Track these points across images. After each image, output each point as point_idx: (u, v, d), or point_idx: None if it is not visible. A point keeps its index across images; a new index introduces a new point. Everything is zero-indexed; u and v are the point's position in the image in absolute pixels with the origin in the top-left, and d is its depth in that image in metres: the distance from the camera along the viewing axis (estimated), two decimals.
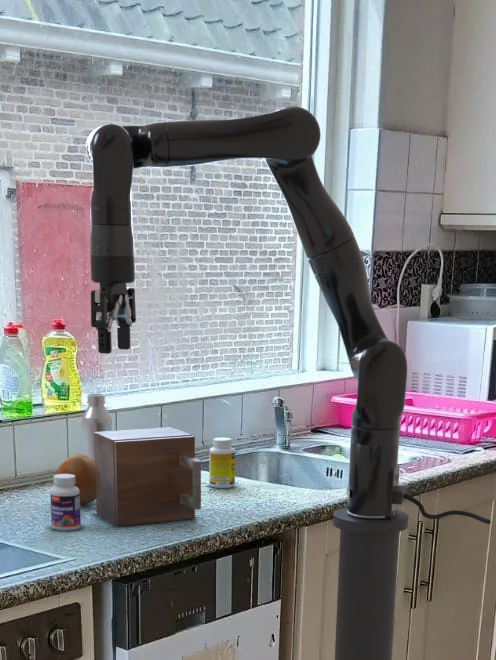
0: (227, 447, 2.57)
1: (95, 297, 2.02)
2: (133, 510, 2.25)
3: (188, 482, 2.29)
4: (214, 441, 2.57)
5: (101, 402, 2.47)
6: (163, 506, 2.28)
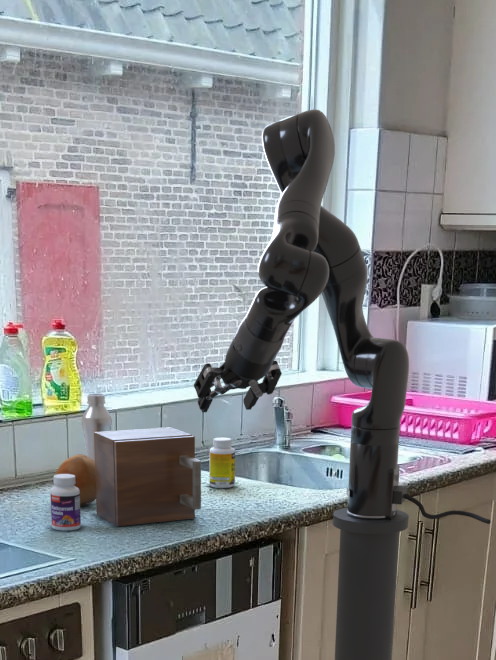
0: (227, 447, 2.57)
1: None
2: (133, 510, 2.25)
3: (188, 482, 2.29)
4: (214, 441, 2.57)
5: (101, 402, 2.47)
6: (163, 506, 2.28)
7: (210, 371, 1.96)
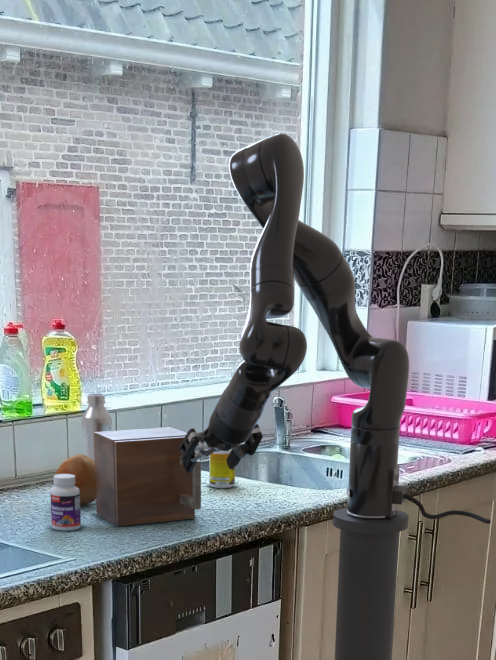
0: None
1: None
2: (133, 510, 2.25)
3: (188, 482, 2.29)
4: None
5: (101, 402, 2.47)
6: (163, 506, 2.28)
7: (194, 436, 2.06)
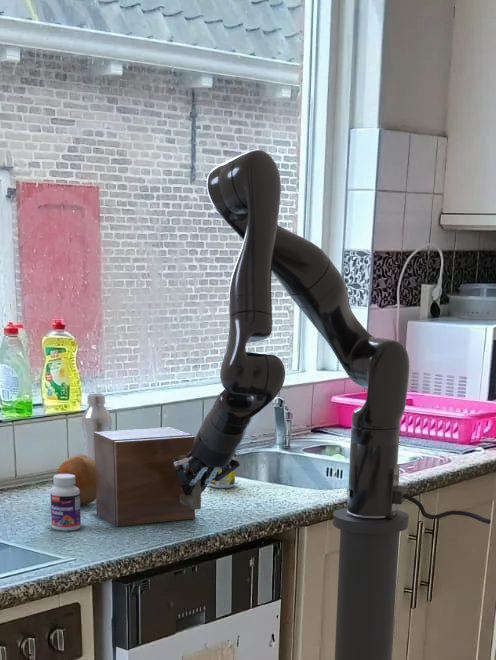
0: None
1: None
2: (133, 510, 2.25)
3: None
4: None
5: (101, 402, 2.47)
6: (163, 506, 2.28)
7: (175, 466, 2.15)
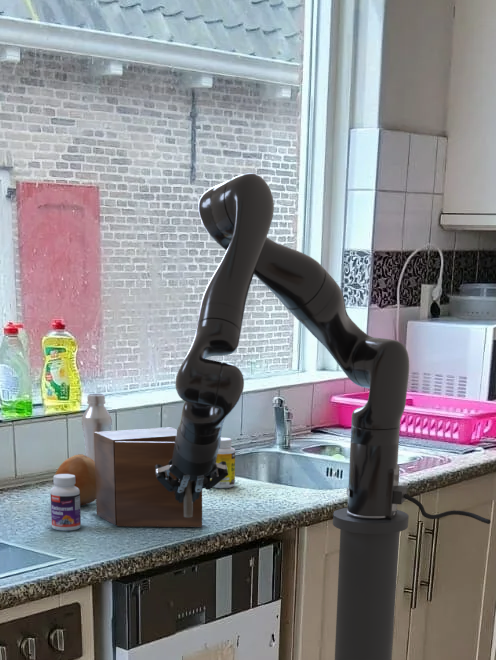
0: (227, 447, 2.57)
1: None
2: (133, 512, 2.24)
3: None
4: None
5: (101, 402, 2.47)
6: (166, 511, 2.24)
7: (156, 473, 2.09)
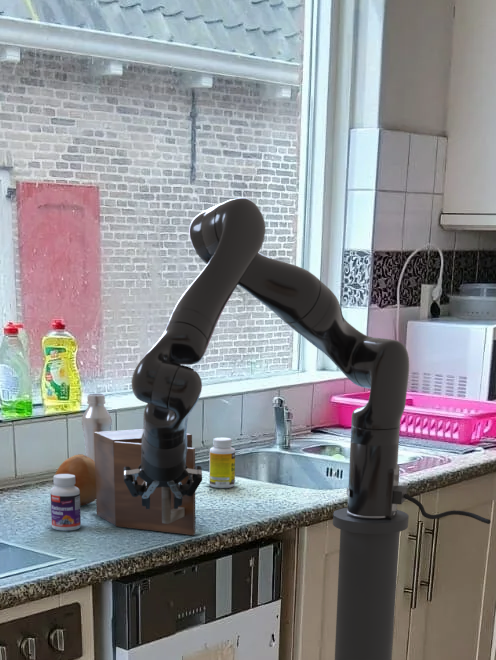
0: (227, 447, 2.57)
1: None
2: (130, 513, 2.23)
3: (185, 496, 2.17)
4: (214, 441, 2.57)
5: (101, 402, 2.47)
6: (160, 515, 2.21)
7: (124, 475, 2.04)
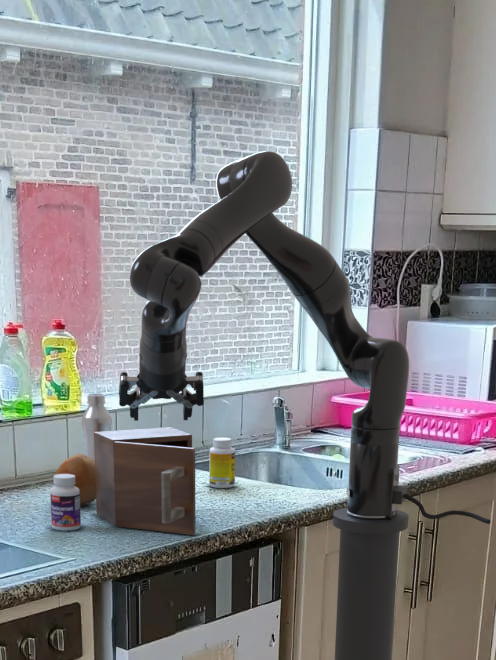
0: (227, 447, 2.57)
1: None
2: (130, 513, 2.23)
3: (185, 496, 2.17)
4: (214, 441, 2.57)
5: (101, 402, 2.47)
6: (160, 515, 2.21)
7: (122, 380, 1.97)
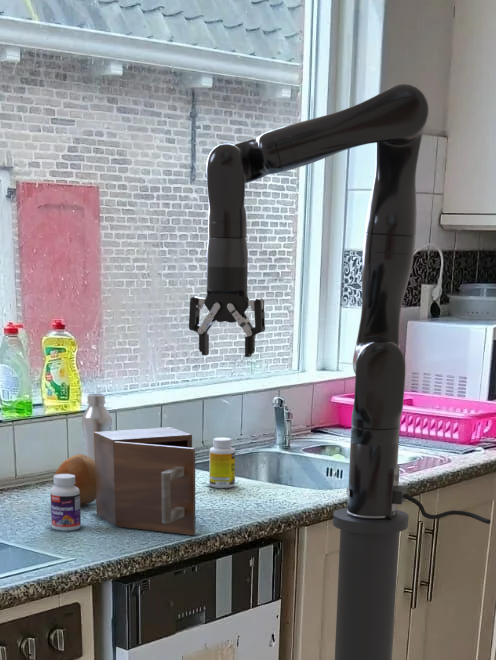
0: (227, 447, 2.57)
1: (261, 305, 2.20)
2: (130, 513, 2.23)
3: (185, 496, 2.17)
4: (214, 441, 2.57)
5: (101, 402, 2.47)
6: (160, 515, 2.21)
7: (193, 297, 2.23)
